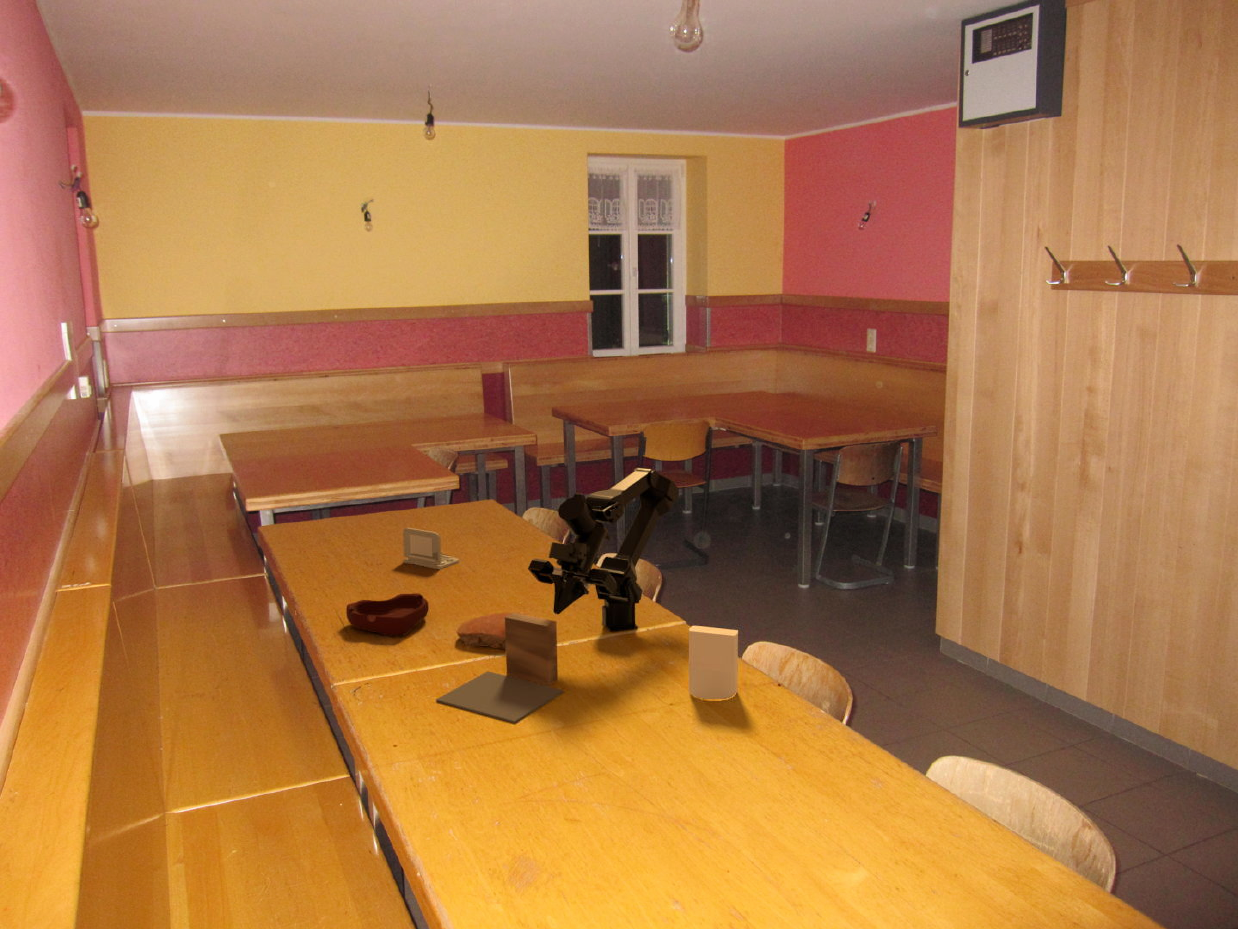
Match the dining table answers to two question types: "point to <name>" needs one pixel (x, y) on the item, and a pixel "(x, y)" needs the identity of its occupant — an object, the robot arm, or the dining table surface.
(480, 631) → the ceramic shard
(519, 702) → the charcoal rubber mat
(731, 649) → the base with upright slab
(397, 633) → the ashtray
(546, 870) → the dining table surface
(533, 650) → the brown wooden block
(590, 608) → the dining table surface
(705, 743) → the dining table surface
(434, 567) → the handheld gaming console
